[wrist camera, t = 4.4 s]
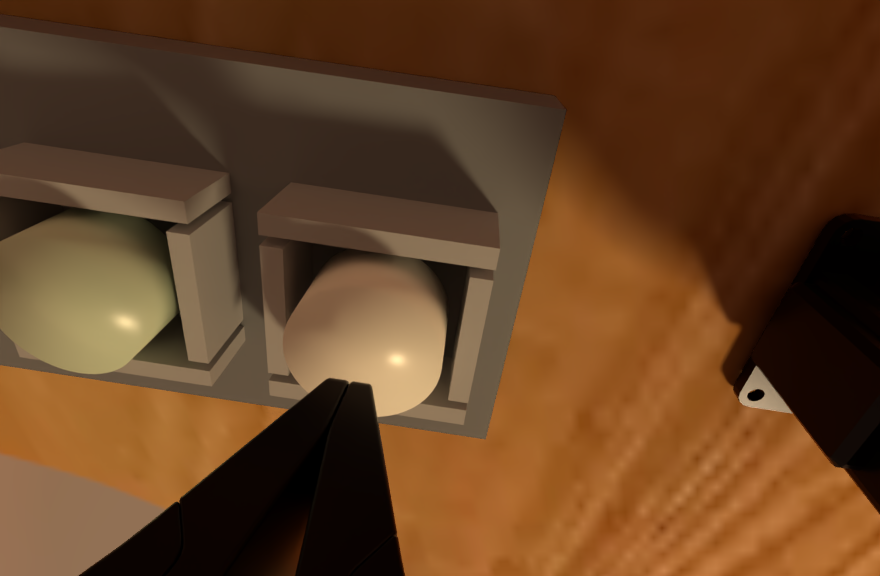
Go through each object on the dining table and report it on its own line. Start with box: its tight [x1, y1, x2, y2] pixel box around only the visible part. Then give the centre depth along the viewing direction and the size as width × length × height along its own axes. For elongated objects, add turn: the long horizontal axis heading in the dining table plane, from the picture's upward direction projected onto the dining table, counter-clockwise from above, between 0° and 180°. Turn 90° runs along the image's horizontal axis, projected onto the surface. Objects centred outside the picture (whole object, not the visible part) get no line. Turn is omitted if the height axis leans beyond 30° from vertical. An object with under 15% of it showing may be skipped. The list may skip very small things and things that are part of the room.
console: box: [0, 14, 566, 439], centre depth 13 cm, size 20×10×4 cm, turn 83°
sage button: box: [0, 207, 180, 374], centre depth 11 cm, size 3×3×2 cm
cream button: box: [283, 248, 449, 417], centre depth 11 cm, size 3×3×2 cm
